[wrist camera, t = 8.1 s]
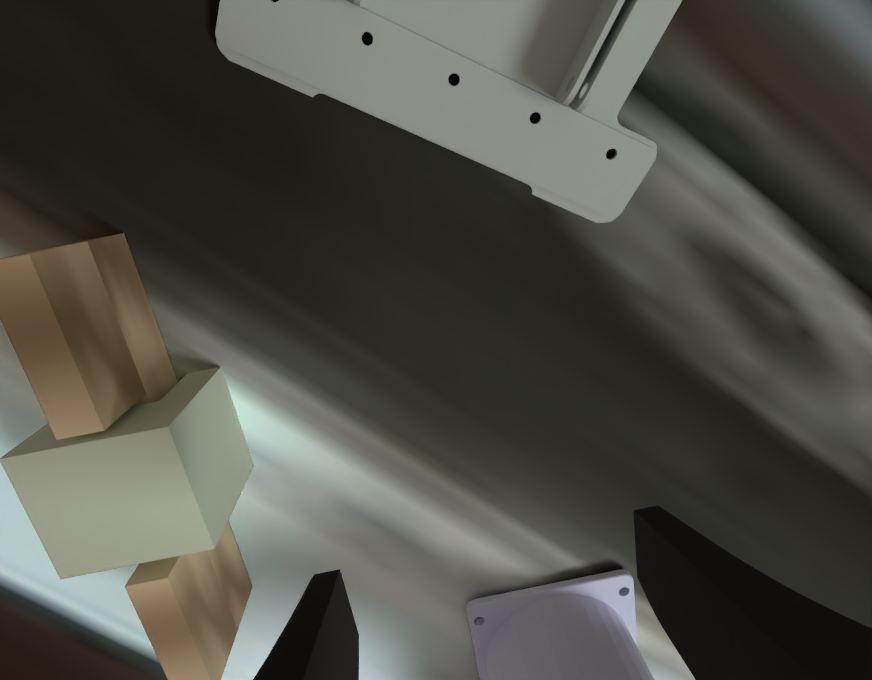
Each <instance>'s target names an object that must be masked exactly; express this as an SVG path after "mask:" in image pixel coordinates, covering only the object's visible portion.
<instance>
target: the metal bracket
mask: <svg viewBox="0 0 872 680" xmlns="http://www.w3.org/2000/svg"><path fill="white" fill-rule="evenodd" d="M681 2H682V0H279V1H277V2H274V1H272V0H220V4H219V11H218V18H217V24H216V31H215V34H216V40H217V46H218V48H219V50H220V51H221V52H222V53H223V54H224V55H225V56H226V58H227V59H228V60H230V61H232V62H234V63H236V64H239V65H241V66H243V67H245V68H248V69H250V70H252V71H254V72H257V73H259V74H261V75H264V76H266V77H268V78H270V79H273V80H275V81H277V82H279V83H282V84H284V85H286V86H288V87H291V88H293V89H295V90H297V91H300V92H302V93H304V94H306V95H309V96H311V97H314V95H316V94H318V93H321V94H325V95H328V96H330V97H332V98H334V99H337V100H339V101H341V102H343V103H346V104H348V105H350V106H352V107H355V108H357V109H359V110H362V111H364V112H366V113H368V114H371V115H373V116H375V117H377V118H380V119H382V120H384V121H386V122H389V123H391V124H393V125H395V126H398V127H400V128H402V129H404V130H407V131H409V132H411V133H413V134H416V135H418V136H420V137H422V138H425V139H427V140H429V141H431V142H434V143H436V144H438V145H441V146H443V147H445V148H447V149H450V150H452V151H454V152H456V153H459V154H461V155H463V156H465V157H468V158H470V159H472V160H474V161H477V162H479V163H481V164H483V165H486V166H488V167H490V168H492V169H495V170H497V171H499V172H501V173H504V174H506V175H508V176H510V177H513V178H515V179H517V180H520V181H522V182H524V183H526V184H528V185H529V186H530V187H531V189H532V194H533V195H535V196H537V197H539V198H542V199H544V200H546V201H548V202H551V203H553V204H555V205H558V206H560V207H562V208H564V209H567V210H569V211H571V212H573V213H576V214H578V215H580V216H582V217H585V218H587V219H589V220H591V221H594V222H596V223H605V222H611V221H613V220H614V219H615V218H616V217H618V216H619V215H620V214H621V213H622V211H623V210H624V208H625V206H626V205H627V203H628V202H629V200H630V199H631V197H632V195H633V194H634V192H635V191H636V189H637V188H638V186H639V184H640V183H641V181H642V180H643V178H644V177H645V175H646V174H647V172H648V170H649V169H650V167H651V166H652V164H653V163H654V161H655V159H656V156H657V155H656V152H657V145H656V144H655V143H654V142H653V141H651V140H649V139H647V138H645V137H643V136H641V135H639V134H637V133H635V132H633V131H631V130H629V129H627V128H625V127H623V126H621V125H620V124H619V123H618V119H617V116H618V113H619V110H620V109H621V107H622V105H623V103H624V102H625V100H626V98H627V96H628V95H629V93H630V91H631V89H632V88H633V86H634V84H635V82H636V81H637V79H638V77H639V75H640V74H641V72H642V70H643V68H644V67H645V65H646V63H647V61H648V60H649V58H650V56H651V54H652V53H653V51H654V49H655V47H656V45H657V44H658V42H659V40H660V38H661V37H662V35H663V33H664V31H665V30H666V28H667V26H668V24H669V23H670V21H671V19H672V17H673V16H674V14H675V12H676V10H677V9H678V7H679V5H680V3H681ZM364 32H369V33H371V34H372V36H373V42H372V44H371V45H365V44H364V43H363V41H362V35H363V33H364ZM453 73H455V74H457V75H458V76H459V78H460V81H459V83H458V84H457V85H455V86H453V85H451V84H450V83H449V81H448V78H449V76H450V75H451V74H453ZM534 112H538V113H539V114H540V120H539V121H538V122H537V123H531V122H530V116H531V114H532V113H534ZM609 149H615V150H616V154H615V156H614V157H613V158H610V159H609V158H606V153H607V151H608V150H609Z"/></svg>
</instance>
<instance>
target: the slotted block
mask: <svg viewBox="0 0 872 680" xmlns="http://www.w3.org/2000/svg"><path fill="white" fill-rule="evenodd" d="M0 462H1V464H2V466H3V468H4V470H5V472H6V474H7V476H8V478H9V480H10V482H11V484H12V485H13V487H14V489H15V491H16V493H17V495H18V497H19V499H20V501H21V503H22V505H23V507H24V509H25V511H26V513H27V515H28V517H29V519H30V521H31V523H32V525H33V526H34V528H35V530H36V532H37V534H38V536H39V538H40V540H41V542H42V544H43V546H44V548H45V550H46V552H47V554H48V556H49V558H50V560H51V562H52V564H53V566H54V567H55V569H56V571H57V573H58V575H59V577H60V579H65V578H70V577H75V576H80V575H85V574H90V573H95V572H100V571H105V570H110V569H115V568H120V567H125V566H130V565H135V564H140V563H145V562H150V561H155V560H160V559H165V558H170V557H175V556H180V555H185V554H190V553H195V552H201V551H206V550H211V549H215V547H216V545H217V542H218V540H219V538H220V536H221V534H222V532H223V530H224V528H225V526H226V523H227V521H228V519H229V517H230V515H231V513H232V511H233V509H234V507H235V504H236V502H237V500H238V498H239V496H240V494H241V492H242V490H243V488H244V485H245V483H246V481H247V479H248V477H249V475H250V473H251V471H252V469H253V466H254V465H253V462H252V459H251V455H250V452H249V449H248V446H247V443H246V440H245V437H244V434H243V431H242V428H241V425H240V422H239V419H238V416H237V413H236V410H235V407H234V404H233V401H232V398H231V395H230V392H229V389H228V386H227V383H226V380H225V377H224V374H223V371H222V368H221V367H217V368H212V369H207V370H201V371H196V372H191V373H188V374H187V375H185V376H184V377H183V378H182V379H181V380H180V381H179V382H178V383H177V384H176V385H175V386H174V387H173V388H172V389H171V390H170V391H169V392H168V393H167V394H166V395H165V396H164V397H163V398H162V399H161V400H160V401H157V402H152V403H147V404H142V405H136V406H131V407H130V408H129V409H128V410H127V411H126V412H125V413H124V414H123V415H121V416H120V417H119V418H118V419H117V420H116V421H115V422H114V423H112V424H111V425H110V426H109V427H108V428H107V429H106V430H105V431H100V432H95V433H90V434H85V435H80V436H74V437H69V438H64V439H59V440H56V437H55V435H54V433H53V431H52V429H51V427H50V425H49V423H48V424H47V425H46V426H44V427H43V428H41V429H40V430H39V431H37V432H36V433H35V434H33V435H32V436H30V437H29V438H28V439H26V440H25V441H24V442H22V443H21V444H19V445H18V446H17V447H15V448H14V449H13V450H11V451H10V452H8V453H7V454H6V455H4V456H3V457H1V458H0Z"/></svg>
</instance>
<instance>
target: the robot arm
mask: <svg viewBox="0 0 872 680" xmlns="http://www.w3.org/2000/svg"><path fill="white" fill-rule="evenodd" d="M634 527H635V545H636V562H637V578H638V580H639V582H640V584H641V586H642V588H643V590H644V592H645V594H646V597H647V599H648V601H649V603H650V605H651V607H652V609H653V611H654V613H655V615H656V617H657V619H658V620H659V622H660V624H661V625H662V627H663V629H664V630H665V632H666V633H667V635H668V637H669V638H670V640H671V641H672V643H673V644H674V646H675V648H676V649H677V651H678V652H679V654H680V656H681V657H682V659H683V660H684V662H685V663H686V665H687V667H688V668H689V670H690V671H691V673H692V674H693V676H694V678H695V679H696V680H872V628H869V627H867V626H865V625H863V624H860V623H858V622H856V621H854V620H852V619H849V618H847V617H845V616H843V615H841V614H839V613H837V612H835V611H833V610H831V609H829V608H827V607H825V606H823V605H821V604H819V603H817V602H815V601H813V600H811V599H809V598H807V597H805V596H803V595H801V594H799V593H797V592H795V591H793V590H792V589H790V588H788V587H786V586H784V585H783V584H781V583H779V582H777V581H776V580H774V579H772V578H770V577H769V576H767V575H765V574H763V573H762V572H760V571H758V570H756V569H755V568H753V567H751V566H750V565H748V564H746V563H745V562H743V561H742V560H740V559H738V558H737V557H735V556H734V555H732V554H730V553H729V552H727V551H726V550H724V549H722V548H721V547H719V546H718V545H716V544H715V543H713V542H712V541H710V540H709V539H707V538H706V537H704V536H703V535H701V534H700V533H698V532H697V531H695V530H694V529H692V528H691V527H689V526H688V525H686V524H685V523H683V522H682V521H680V520H679V519H677V518H676V517H675V516H673V515H672V514H670V513H669V512H667V511H666V510H664V509H663V508H661V507H660V506H653V507H648V508H643V509H638V510H634ZM623 587H625V588H624V589H621V588H623ZM620 589H621V590H620ZM466 610H467V616H468V621H469V626H470V631H471V636H472V641H473V646H474V651H475V656H476V661H477V667H478V672H479V677H480V680H654V678H653V676H652V675H651V673H650V671H649V669H648V667H647V665H646V663H645V661H644V659H643V657H642V655H641V653H640V651H639V649H638V647H637V631H636V615H635V598H634V582H633V578H632V576H631V574H630V573H629V572H628V571H627V570H624V569H623V570H615V571H610V572H606V573H601V574H596V575H591V576H586V577H581V578H576V579H571V580H566V581H561V582H556V583H551V584H547V585H542V586H537V587H532V588H527V589H522V590H517V591H512V592H507V593H502V594H497V595H492V596H487V597H483V598H478V599H474V600H471V601H470V602H469V603H468V604H467V606H466ZM477 617H482V618H479V619H476V618H477ZM358 678H359V634H358V631H357V627H356V624H355V620H354V617H353V613H352V610H351V606H350V603H349V600H348V596H347V593H346V589H345V586H344V582H343V579H342V575H341V572H340V569H339V570H334V571H329V572H325V573H320V574H315V575H314V576H313V577H312V579H311V580H310V582H309V584H308V586H307V588H306V590H305V592H304V594H303V596H302V597H301V599H300V601H299V603H298V605H297V607H296V609H295V610H294V612H293V614H292V616H291V618H290V619H289V621H288V623H287V625H286V627H285V628H284V630H283V632H282V633H281V635H280V637H279V638H278V640H277V642H276V644H275V645H274V647H273V649H272V650H271V652H270V654H269V655H268V657H267V659H266V660H265V662H264V664H263V665H262V667H261V668H260V670H259V671H258V673H257V674H256V676H255V677H254V679H253V680H358Z"/></svg>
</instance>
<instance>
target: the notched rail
mask: <svg viewBox="0 0 872 680" xmlns="http://www.w3.org/2000/svg"><path fill="white" fill-rule="evenodd" d="M0 319H1V321H2V323H3V326H4V328H5V330H6V332H7V334H8V336H9V338H10V341H11V343H12V345H13V347H14V349H15V351H16V353H17V356H18V358H19V360H20V362H21V364H22V366H23V369H24V371H25V373H26V375H27V377H28V379H29V381H30V384H31V386H32V388H33V390H34V392H35V394H36V397H37V399H38V401H39V403H40V405H41V407H42V409H43V412H44V414H45V416H46V418H47V420H48V422H49V425H50V427H51V429H52V431H53V433H54V435H55V437H56V440H59V439H64V438H69V437H74V436H80V435H85V434H90V433H95V432H100V431H105V430H106V429H107V428H108V427H109V426H110V425H111V424H112V423H114V422H115V421H116V420H117V419H118V418H119V417H120V416H121V415H123V414H124V413H125V412H126V411H127V410H128V409H129V408H130V407H131V406H136V405H142V404H147V403H152V402H157V401H160V400H161V399H162V398H163V397H164V396H165V395H166V394H167V393H168V392H169V391H170V390H171V389H172V388H173V387H174V386H175V385H176V384H177V383H178V381H177V378H176V375H175V373H174V370H173V367H172V364H171V362H170V359H169V356H168V353H167V351H166V348H165V345H164V342H163V340H162V337H161V334H160V331H159V329H158V326H157V323H156V320H155V318H154V315H153V312H152V309H151V307H150V304H149V301H148V298H147V296H146V293H145V290H144V287H143V285H142V282H141V279H140V276H139V273H138V271H137V268H136V265H135V262H134V260H133V257H132V254H131V251H130V249H129V246H128V243H127V240H126V238H125V235H124V233H122V234H117V235H111V236H106V237H100V238H95V239H89V240H84V241H79V242H75V243H70V244H65V245H61V246H56V247H51V248H47V249H42V250H38V251H33V252H28V253H24V254H19V255H15V256H10V257H5V258H1V259H0ZM125 588H126V590H127V592H128V595H129V597H130V599H131V601H132V603H133V605H134V608H135V610H136V612H137V614H138V616H139V618H140V620H141V623H142V625H143V627H144V629H145V631H146V633H147V636H148V638H149V640H150V642H151V644H152V646H153V648H154V651H155V653H156V655H157V657H158V659H159V661H160V664H161V666H162V668H163V670H164V672H165V674H166V676H167V679H168V680H221V678H222V675H223V672H224V669H225V666H226V663H227V660H228V657H229V654H230V651H231V648H232V645H233V642H234V639H235V636H236V633H237V630H238V627H239V624H240V621H241V618H242V616H243V613H244V610H245V607H246V604H247V601H248V598H249V595H250V592H251V589H252V584H251V582H250V579H249V576H248V573H247V571H246V568H245V565H244V562H243V560H242V557H241V554H240V551H239V549H238V546H237V543H236V540H235V538H234V535H233V532H232V529H231V527H230V524H229V521H227V523H226V526H225V528H224V530H223V532H222V534H221V536H220V538H219V540H218V542H217V545H216V547H215V549H211V550H206V551H201V552H195V553H190V554H185V555H180V556H175V557H170V558H165V559H160V560H155V561H150V562H145V563H140V564H139V565H138V567H137V568H136V570H135V572H134V573H133V575H132V576H131V578H130V579H129V581H128V582H127V584H126V585H125Z"/></svg>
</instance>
